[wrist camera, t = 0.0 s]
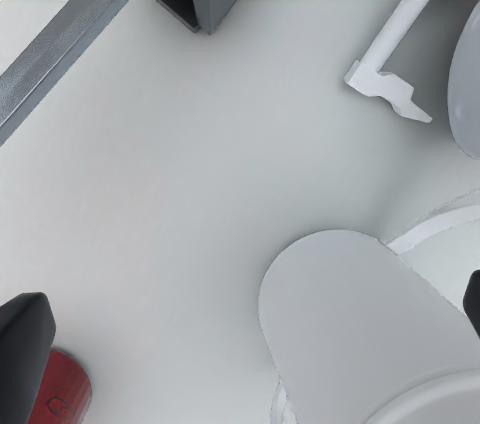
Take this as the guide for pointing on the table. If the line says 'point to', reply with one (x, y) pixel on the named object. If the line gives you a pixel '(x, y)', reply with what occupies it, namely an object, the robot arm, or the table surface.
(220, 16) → the switch bracket
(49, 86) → the switch
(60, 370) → the soda can
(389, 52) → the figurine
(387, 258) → the coffeepot
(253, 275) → the table surface
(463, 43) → the teapot
